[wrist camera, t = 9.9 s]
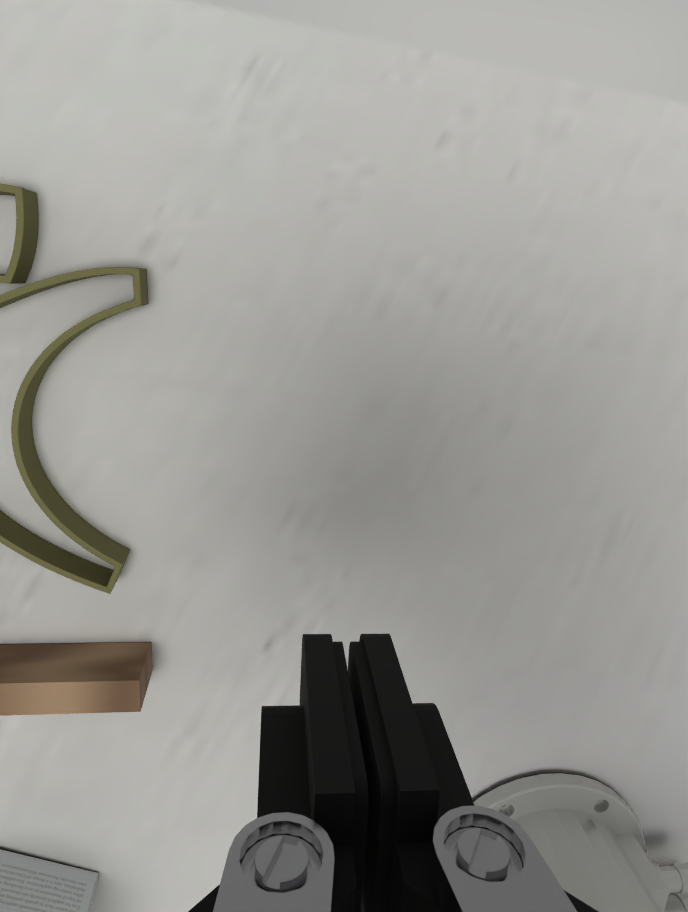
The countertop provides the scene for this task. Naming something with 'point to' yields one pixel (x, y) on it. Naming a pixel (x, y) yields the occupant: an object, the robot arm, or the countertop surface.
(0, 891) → the skincare box
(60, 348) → the cookie cutter
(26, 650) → the walnut fence
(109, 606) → the countertop surface
